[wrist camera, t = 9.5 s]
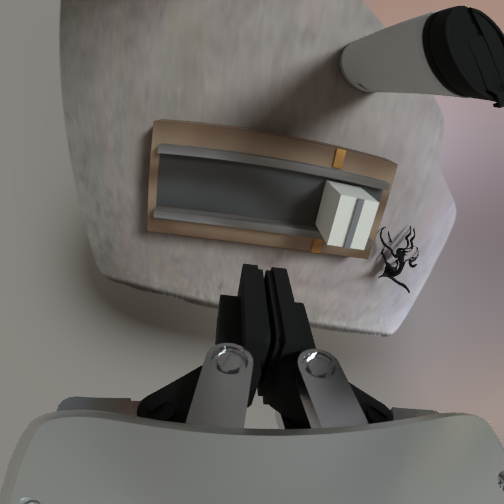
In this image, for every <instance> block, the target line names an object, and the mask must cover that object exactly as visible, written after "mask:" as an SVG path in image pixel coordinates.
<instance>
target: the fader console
mask: <svg viewBox="0 0 504 504" xmlns="http://www.w3.org/2000/svg"><path fill="white" fill-rule="evenodd" d="M397 165H398V164H396V163H394V162H392V161H390V160H388V159H385V158H382V157H378V156H374V155H371V154H367V153H363V152H360V151H356V150H352V149H348V148H344V147H340V146H336V145H331V144H327V143H323V142H318V141H313V140H309V139H304V138H299V137H294V136H289V135H283V134H278V133H272V132H266V131H260V130H254V129H247V128H240V127H233V126H225V125H217V124H208V123H199V122H189V121H177V120H163V119H161V120H157V121H154V124H153V134H152V145H151V157H150V171H149V188H148V214H147V231H153V232H162V233H170V234H178V235H186V236H194V237H202V238H210V239H218V240H226V241H234V242H242V243H249V244H257V245H265V246H273V247H280V248H288V249H296V250H303V251H311V252H313V253H326V254H334V255H341V256H348V257H356V258H363V259H368V257H369V255H370V252H371V249H372V246H373V243H374V240H375V237H376V234H377V231H378V228H379V225H380V222H381V219H382V216H383V213H384V210H385V207H386V203H387V200H388V197H389V193H390V190H391V187H392V183H393V179H394V176H395V172H396V169H397ZM326 180H329V181H334V182H339V183H343V184H348V185H353V186H357V187H361V188H362V189H363V190H364V191H366V192H367V193H368V194H369V195H371V196H372V197H373V198H374V199H375V200H377V201H378V202H379V206H378V209H377V212H376V215H375V219H374V222H373V225H372V228H371V231H370V234H369V237H368V240H367V243H366V246H365V249H364V250H360V249H353V248H350V249H346V248H344V247H339V246H332V245H327V244H326V242H325V240H324V238H323V237H322V235H321V233H320V231H319V230H318V228H317V226H316V224H315V223H316V219H317V215H318V211H319V207H320V203H321V199H322V195H323V191H324V187H325V183H326Z"/></svg>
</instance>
